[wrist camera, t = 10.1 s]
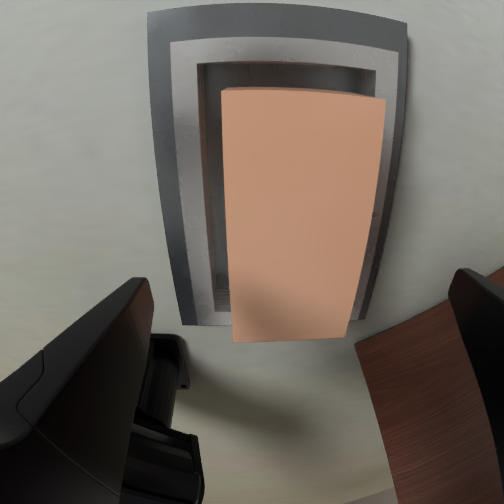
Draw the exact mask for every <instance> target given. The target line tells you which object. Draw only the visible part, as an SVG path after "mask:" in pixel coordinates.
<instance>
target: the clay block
mask: <svg viewBox="0 0 504 504" xmlns="http://www.w3.org/2000/svg"><path fill="white" fill-rule="evenodd" d="M221 104H222V139H223V167H224V192H225V214H226V235H227V254H228V272H229V289H230V305H231V320H232V335H233V342H270V341H295V340H313V339H329V338H342V337H345V334H346V330H347V327H348V323H349V319H350V315H351V312H352V308H353V304H354V300H355V295H356V291H357V287H358V283H359V278H360V274H361V269H362V265H363V260H364V255H365V250H366V245H367V240H368V235H369V229H370V224H371V218H372V213H373V207H374V200H375V194H376V187H377V180H378V173H379V165H380V157H381V149H382V140H383V130H384V119H385V106H386V100H384V99H380V98H375V97H371V96H366V95H361V94H356V93H351V92H345V91H339V90H328V89H315V88H298V87H264V86H250V87H228V88H226V89H224V90H222V91H221Z"/></svg>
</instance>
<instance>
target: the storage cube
mask: <svg viewBox="0 0 504 504" xmlns="http://www.w3.org/2000/svg"><path fill="white" fill-rule="evenodd" d="M486 278H488V279H489V280H491V281H493V282H495V283H496V284H498V285H500V286H502V287H503V288H504V267H502V268H501V269H499V270H497V271H496V272H494V273H493V274H491V275H489V276H488V277H486ZM354 346H355V349H356V352H357V355H358V358H359V361H360V364H361V367H362V371H363V374H364V377H365V380H366V383H367V387H368V390H369V393H370V397H371V400H372V403H373V407H374V410H375V414H376V417H377V421H378V424H379V428H380V431H381V435H382V439H383V442H384V446H385V450H386V454H387V458H388V462H389V466H390V470H391V474H392V478H393V482H394V486H395V490H396V495H397V499H398V504H504V498H503V490H502V483H501V477H500V471H499V465H498V460H497V455H496V449H495V444H494V440H493V436H492V432H491V428H490V424H489V420H488V416H487V412H486V409H485V405H484V402H483V399H482V395H481V392H480V389H479V386H478V383H477V380H476V377H475V374H474V371H473V368H472V365H471V362H470V359H469V357H468V354H467V351H466V349H465V346H464V343H463V341H462V338H461V335H460V332H459V328H458V325H457V322H456V319H455V315H454V312H453V309H452V306H451V303H450V300H449V299H448V300H446V301H444V302H442V303H440V304H438V305H437V306H435V307H433V308H431V309H429V310H427V311H425V312H423V313H421V314H419V315H417V316H415V317H413V318H411V319H409V320H407V321H405V322H403V323H401V324H399V325H396V326H394V327H392V328H390V329H388V330H386V331H383V332H381V333H379V334H377V335H375V336H372V337H370V338H368V339H365V340H363V341H361V342H358V343H356V344H354Z"/></svg>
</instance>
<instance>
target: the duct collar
mask: <svg viewBox="0 0 504 504" xmlns="http://www.w3.org/2000/svg"><path fill="white" fill-rule="evenodd" d="M147 34H148V67H149V87H150V103H151V116H152V128H153V139H154V149H155V159H156V168H157V176H158V185H159V192H160V200H161V207H162V214H163V221H164V228H165V234H166V240H167V247H168V253H169V258H170V264H171V270H172V275H173V281H174V286H175V291H176V296H177V301H178V306H179V311H180V316H181V321H182V325H198V326H226V325H232V320H231V305H230V289H229V272H228V254H227V235H226V214H225V192H224V167H223V139H222V104H221V91H222V90H224V89H226V88H228V87H250V86H264V87H298V88H315V89H328V90H339V91H345V92H351V93H356V94H361V95H366V96H371V97H375V98H380V99H384V100H386V106H385V119H384V130H383V140H382V149H381V157H380V165H379V173H378V180H377V187H376V194H375V200H374V207H373V213H372V218H371V224H370V229H369V235H368V240H367V245H366V250H365V255H364V260H363V265H362V269H361V274H360V278H359V283H358V287H357V291H356V295H355V300H354V304H353V308H352V312H351V315H350V319H349V320H361V319H365V316H366V313H367V309H368V306H369V302H370V299H371V295H372V291H373V287H374V284H375V280H376V276H377V272H378V268H379V264H380V259H381V255H382V251H383V246H384V242H385V237H386V232H387V227H388V222H389V217H390V212H391V206H392V201H393V195H394V189H395V183H396V177H397V170H398V163H399V155H400V147H401V139H402V130H403V119H404V108H405V94H406V75H407V23H404V22H400V21H396V20H392V19H388V18H384V17H379V16H375V15H370V14H365V13H359V12H354V11H348V10H341V9H334V8H326V7H318V6H308V5H295V4H277V3H230V4H212V5H200V6H190V7H181V8H173V9H166V10H160V11H154V12H148V13H147Z"/></svg>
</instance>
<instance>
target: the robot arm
mask: <svg viewBox="0 0 504 504" xmlns="http://www.w3.org/2000/svg"><path fill="white" fill-rule="evenodd" d="M448 297H449V300H450V303H451V306H452V309H453V312H454V315H455V319H456V322H457V325H458V328H459V332H460V335H461V338H462V341H463V343H464V346H465V349H466V351H467V354H468V357H469V359H470V362H471V365H472V368H473V371H474V374H475V377H476V380H477V383H478V386H479V389H480V392H481V395H482V399H483V402H484V405H485V409H486V412H487V416H488V420H489V424H490V428H491V432H492V436H493V440H494V444H495V449H496V455H497V460H498V465H499V471H500V477H501V483H502V490H503V498H504V288H503V287H502V286H500V285H498V284H496V283H495V282H493V281H491V280H489V279H488V278H486V277H484V276H482V275H480V274H478V273H477V272H475V271H473V270H471V269H469V268H462V269H458V270H457V271H456V273H455V275H454V278H453V280H452V283H451V285H450V288H449V291H448ZM153 312H154V301H153V297H152V293H151V289H150V285H149V281H148V280H147V278H145V277H133V278H131V279H129V280H128V281H127V282H125V283H124V284H123V285H122V286H120V287H119V288H118V289H116V290H115V291H114V292H112V293H111V294H110V295H109V296H107V297H106V298H105V299H103V300H102V301H101V302H100V303H98V304H97V305H96V306H94V307H93V308H92V309H91V310H89V311H88V312H87V313H86V314H84V315H83V316H82V317H81V318H79V319H78V320H77V321H76V322H74V323H73V324H72V325H71V326H69V327H68V328H67V329H66V330H64V331H63V332H62V333H61V334H60V335H58V336H57V337H56V338H55V339H53V340H52V341H51V342H50V343H49V344H47V345H46V346H45V347H44V348H43V350H40V351H39V352H38V353H37V354H35V355H34V356H33V357H32V358H31V359H29V360H28V361H27V362H26V363H24V364H23V365H22V366H21V367H20V368H18V369H17V370H16V371H14V372H13V373H12V374H11V375H9V376H8V377H7V378H5V379H4V380H3V381H1V382H0V504H202V500H203V497H204V489H205V484H204V476H203V470H202V463H201V457H200V450H199V443H198V437H197V436H196V435H193V434H186V433H182V432H179V431H176V430H173V429H171V423H172V416H173V410H174V403H175V396H176V390H177V389H189V388H190V381H189V377H188V373H187V370H186V366H185V362H184V358H183V355H182V351H181V347H180V343H179V339H178V337H176V336H175V335H169V334H150V333H151V326H152V319H153ZM172 341H173V342H172Z"/></svg>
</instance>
